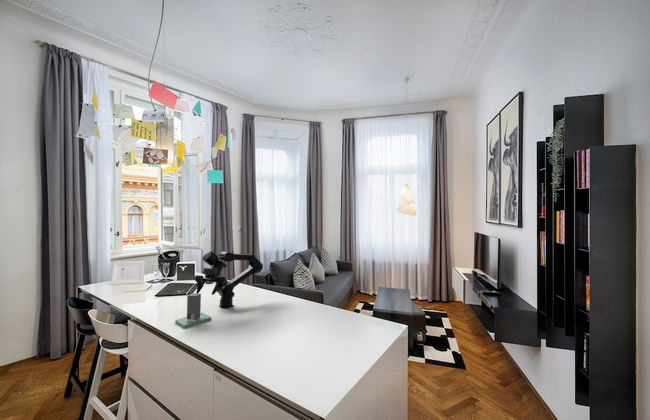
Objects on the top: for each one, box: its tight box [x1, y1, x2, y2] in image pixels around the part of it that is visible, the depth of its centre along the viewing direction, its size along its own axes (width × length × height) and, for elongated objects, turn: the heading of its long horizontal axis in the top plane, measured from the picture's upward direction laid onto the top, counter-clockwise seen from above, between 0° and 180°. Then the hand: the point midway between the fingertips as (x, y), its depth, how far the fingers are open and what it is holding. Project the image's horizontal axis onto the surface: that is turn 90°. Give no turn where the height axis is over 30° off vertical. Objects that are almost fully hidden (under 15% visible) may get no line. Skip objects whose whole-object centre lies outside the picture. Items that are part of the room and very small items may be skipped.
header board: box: [174, 312, 212, 329], centre depth 139 cm, size 14×10×4 cm
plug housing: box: [186, 292, 202, 320], centre depth 139 cm, size 4×5×12 cm
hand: (204, 294), depth 145 cm, fingers open, 9 cm apart
